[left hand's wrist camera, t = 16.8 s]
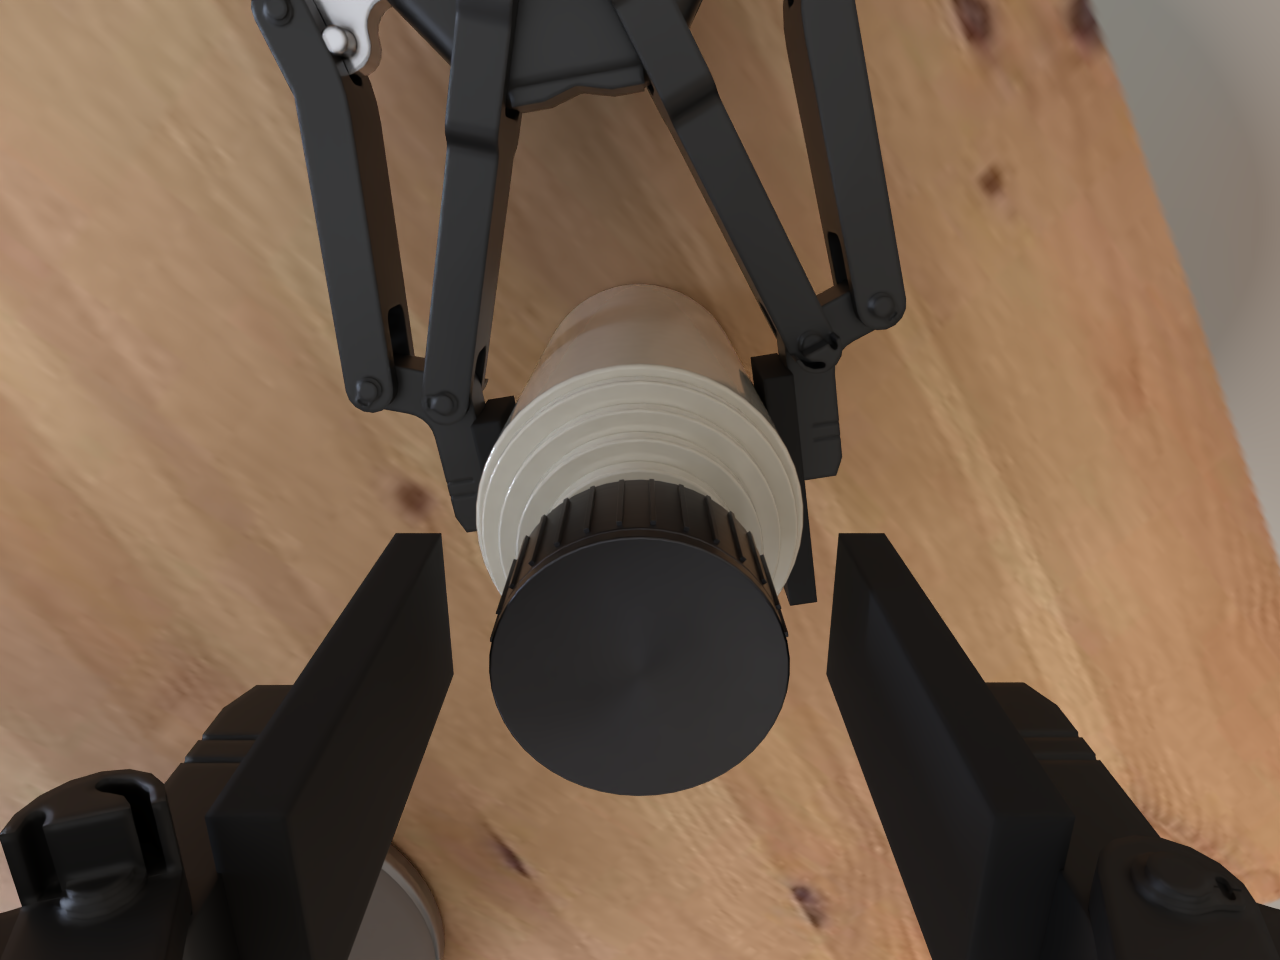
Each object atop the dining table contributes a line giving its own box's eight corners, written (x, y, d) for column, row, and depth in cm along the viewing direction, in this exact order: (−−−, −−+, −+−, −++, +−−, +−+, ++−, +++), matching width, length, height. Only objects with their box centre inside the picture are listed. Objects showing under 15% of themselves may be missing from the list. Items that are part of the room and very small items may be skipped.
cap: (497, 693, 15) (473, 781, 13) (520, 457, 14) (497, 513, 11) (744, 723, 15) (761, 815, 13) (794, 495, 14) (823, 556, 12)
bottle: (551, 270, 28) (425, 412, 12) (754, 298, 28) (914, 476, 12) (532, 462, 30) (405, 811, 14) (720, 487, 31) (813, 855, 14)
